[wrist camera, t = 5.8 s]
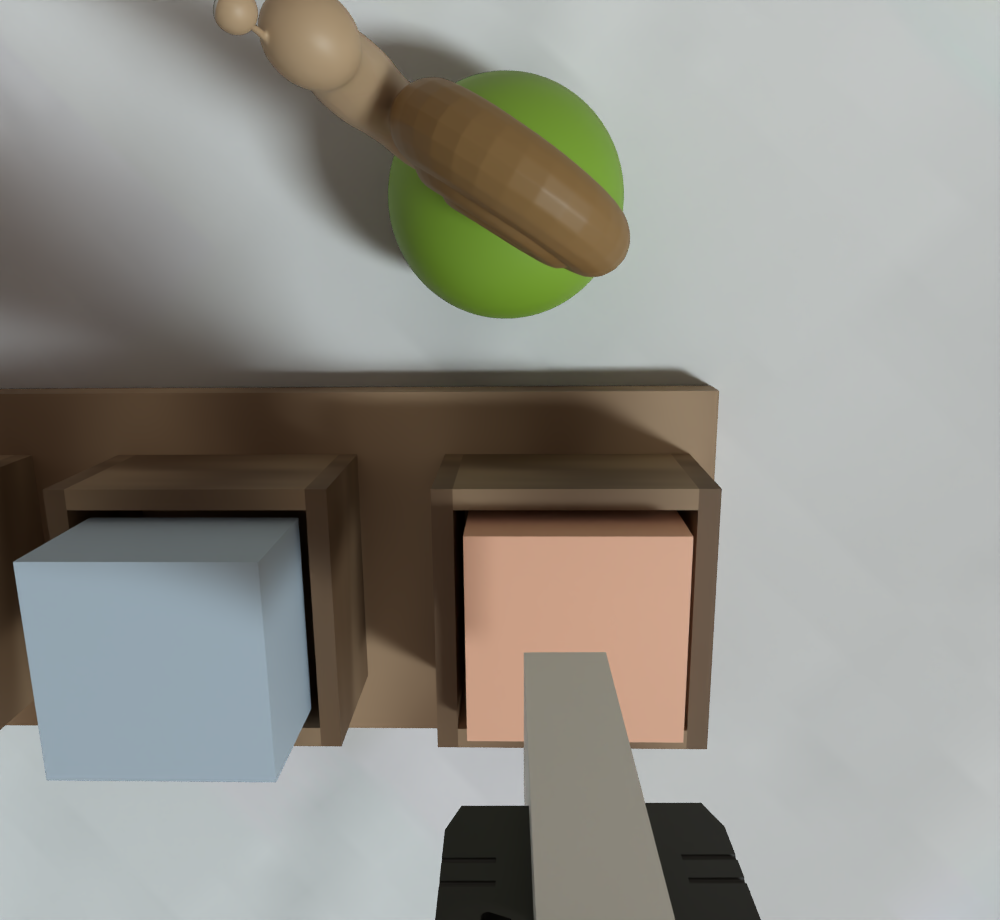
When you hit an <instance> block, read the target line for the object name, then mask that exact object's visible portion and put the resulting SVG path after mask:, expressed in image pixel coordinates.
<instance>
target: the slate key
mask: <svg viewBox="0 0 1000 920" xmlns="http://www.w3.org/2000/svg"><path fill="white" fill-rule="evenodd" d="M13 566H14V572H15V579H16V585H17V592H18V598H19V605H20V611H21V618H22V624H23V631H24V637H25V643H26V650H27V656H28V663H29V669H30V676H31V682H32V689H33V695H34V702H35V708H36V714H37V721H38V727H39V734H40V740H41V747H42V753H43V760H44V766H45V773H46V779H47V780H77V781H190V782H276V781H277V779H278V777H279V775H280V773H281V771H282V769H283V767H284V765H285V763H286V760H287V758H288V756H289V754H290V752H291V750H292V748H293V746H294V744H295V742H296V740H297V737H298V735H299V733H300V731H301V729H302V727H303V725H304V723H305V721H306V719H307V717H308V714H309V712H310V710H311V695H310V680H309V666H308V651H307V636H306V622H305V607H304V592H303V578H302V563H301V548H300V534H299V519H298V518H88V519H87V520H85V521H83V522H81V523H80V524H78V525H76V526H74V527H73V528H71V529H69V530H67V531H66V532H64V533H62V534H60V535H59V536H57V537H55V538H53V539H52V540H50V541H48V542H47V543H45V544H43V545H41V546H40V547H38V548H36V549H34V550H33V551H31V552H29V553H27V554H26V555H24V556H22V557H20V558H19V559H17V560H15V561H14V562H13Z"/></svg>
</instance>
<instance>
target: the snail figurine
mask: <svg viewBox="0 0 1000 920" xmlns="http://www.w3.org/2000/svg"><path fill="white" fill-rule="evenodd" d="M213 15H214V18H215V20H216V23H217V24H218V26H219V27H220V28H221V29H223V30H224V31H225V32H227V33H229V34H232V35H243V34H246V33H248V32H250V31H251V30H252V31H253V32H254V33H256V34H257V35H258V36H259V37H260V42H261V45H262V48H263V50H264V53H265V55H266V56H267V58H268V60H269V61H270V63H271V64H272V65H273V67H274V68H275V69H276V70H277V71H278V72H279V73H280V74H281V75H282V76H283V77H284V78H286V79H287V80H288V81H290V82H292V83H293V84H295V85H297V86H299V87H302V88H304V89H308V90H311V91H312V93H313V94H314V95H315V96H316V97H317V98H318V99H319V101H320V102H321V103H322V104H324V105H325V106H326V107H327V108H328V109H329V110H330V111H331V112H332V113H334V114H335V115H336V116H338V117H339V118H340V119H342V120H343V121H344V122H346V123H347V124H349V125H351V126H352V127H354V128H356V129H358V130H360V131H362V132H363V133H365V134H366V135H368V136H370V137H371V138H373V139H374V140H376V141H377V142H379V143H380V144H382V145H383V146H384V147H385V148H387V149H388V150H389V151H390V152H391V153H392V154H394V157H393V161H392V165H391V169H390V175H389V183H388V207H389V215H390V220H391V225H392V229H393V232H394V235H395V238H396V241H397V244H398V246H399V248H400V250H401V252H402V254H403V256H404V258H405V260H406V261H407V263H408V265H409V266H410V268H411V269H412V270H413V272H414V273H415V274H416V276H417V277H418V278H419V279H420V280H421V281H422V282H423V283H424V284H425V285H426V286H427V287H428V288H429V289H430V290H431V291H432V292H433V293H435V294H436V295H437V296H439V297H440V298H441V299H443V300H445V301H446V302H448V303H450V304H451V305H453V306H455V307H457V308H459V309H462V310H464V311H467V312H470V313H473V314H476V315H480V316H485V317H491V318H520V317H526V316H531V315H535V314H539V313H542V312H545V311H547V310H550V309H552V308H554V307H556V306H558V305H560V304H562V303H564V302H565V301H567V300H568V299H570V298H571V297H573V296H574V295H575V294H577V293H578V292H579V291H580V290H581V289H583V288H584V287H585V286H586V285H587V284H588V283H589V282H590V281H591V279H592V278H593V277H599V276H602V275H605V274H607V273H609V272H611V271H613V270H614V269H615V268H616V267H617V266H618V265H619V264H620V263H621V262H622V261H623V260H624V258H625V256H626V254H627V251H628V248H629V244H630V231H629V226H628V223H627V220H626V217H625V215H624V213H623V202H624V186H623V176H622V170H621V165H620V161H619V158H618V154H617V151H616V149H615V146H614V144H613V141H612V139H611V137H610V135H609V133H608V131H607V130H606V128H605V126H604V125H603V123H602V122H601V120H600V119H599V118H598V116H597V115H596V114H595V113H594V111H593V110H592V109H591V108H590V107H589V106H588V105H587V104H586V103H585V102H584V101H583V100H582V99H581V98H580V97H578V96H577V95H576V94H574V93H573V92H572V91H570V90H569V89H567V88H566V87H564V86H562V85H561V84H559V83H557V82H555V81H553V80H550V79H548V78H545V77H542V76H539V75H536V74H532V73H527V72H521V71H506V70H505V71H491V72H485V73H480V74H476V75H473V76H470V77H467V78H464V79H462V80H460V81H458V82H456V83H454V82H452V81H449V80H446V79H443V78H439V77H426V78H421V79H418V80H416V81H414V82H412V83H410V82H409V81H408V80H407V79H406V78H405V77H404V76H403V75H402V74H401V73H400V72H399V70H398V69H397V68H396V66H395V65H394V64H393V62H392V61H391V60H390V59H389V58H388V57H387V55H386V54H385V53H384V52H383V51H382V50H381V49H380V48H379V47H377V46H376V45H375V44H374V43H373V42H372V41H371V40H369V39H368V38H367V37H366V36H364V35H363V34H362V33H360V32H359V31H358V29H357V26H356V24H355V22H354V20H353V18H352V17H351V15H350V13H349V12H348V11H347V9H346V8H345V7H344V6H343V5H342V4H341V3H340V2H339V1H338V0H266V1H265V2H264V4H263V5H262V8H261V10H260V13H259V18H258V9H257V5H256V2H255V0H215V1H214V5H213ZM257 18H258V26H256V25H255V24H256V22H257Z"/></svg>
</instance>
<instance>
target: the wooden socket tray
mask: <svg viewBox="0 0 1000 920" xmlns="http://www.w3.org/2000/svg"><path fill="white" fill-rule="evenodd" d="M718 400H719V391H718V390H717V389H715V388H714V387H712V386H497V387H271V388H45V389H0V730H1V729H2V728H3V727H4V726H5V725H38V721H37V714H36V708H35V702H34V695H33V689H32V682H31V676H30V669H29V663H28V656H27V650H26V643H25V637H24V631H23V624H22V618H21V611H20V605H19V598H18V592H17V585H16V579H15V572H14V566H13V562H14V561H15V560H17V559H19V558H20V557H22V556H24V555H26V554H27V553H29V552H31V551H33V550H34V549H36V548H38V547H40V546H41V545H43V544H45V543H47V542H48V541H50V540H52V539H53V538H55V537H57V536H59V535H60V534H62V533H64V532H66V531H67V530H69V529H71V528H73V527H74V526H76V525H78V524H80V523H81V522H83V521H85V520H87V519H88V518H298V519H299V534H300V548H301V563H302V578H303V592H304V607H305V622H306V636H307V651H308V666H309V680H310V695H311V710H310V712H309V714H308V717H307V719H306V721H305V723H304V725H303V727H302V729H301V731H300V733H299V735H298V737H297V740H296V742H295V744H294V746H342V743H343V741H344V738H345V735H346V733H347V730H348V728H437V730H438V747H503V748H524V741H467V709H466V658H465V607H464V555H463V535H464V530H465V526H466V521H467V516H468V512H469V510H677V512H678V513H679V515H680V517H681V518H682V520H683V521H684V523H685V524H686V526H687V527H688V529H689V531H690V532H691V534H692V535H693V555H692V576H691V596H690V617H689V637H688V657H687V678H686V698H685V718H684V739H683V743H662V742H629V743H630V747H631V748H633V749H707V738H708V720H709V703H710V685H711V667H712V650H713V632H714V614H715V597H716V579H717V562H718V544H719V526H720V509H721V491H722V489H721V488H720V487H719V486H718V484H717V483H716V482H715V481H714V474H715V456H716V437H717V419H718Z"/></svg>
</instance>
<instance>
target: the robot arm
mask: <svg viewBox="0 0 1000 920" xmlns="http://www.w3.org/2000/svg"><path fill="white" fill-rule="evenodd" d="M524 799H525V806H461V808H460V809H459V811H458V812H457V813H456V815H455V816H454V818H453V819H452V821H451V822H450V823H449V825H448V826H447V828H446V829H445V835H444V844H443V853H442V863H441V872H440V884H439V890H438V900H437V909H436V918H435V920H761V919H760V917H759V914H758V911H757V909H756V906H755V904H754V901H753V899H752V896H751V894H750V891H749V888H748V886H747V883H745V881H744V876H743V873H742V870H741V868H740V865H739V863H738V860H736V858H735V853H734V850H733V847H732V845H731V842H730V840H729V837H728V835H727V832H726V829H725V827H724V826H723V825H722V824H721V823H720V822H719V821H718V820H717V819H716V818H715V817H714V816H713V815H712V814H711V813H710V812H709V811H708V810H707V808H706V807H705V806H704V805H703V804H702V803H645V801H644V797H643V794H642V790H641V786H640V782H639V778H638V774H637V770H636V767H635V763H634V759H633V755H632V751H631V747H630V743H629V740H628V736H627V732H626V728H625V724H624V720H623V716H622V712H621V709H620V705H619V701H618V697H617V693H616V689H615V685H614V682H613V678H612V674H611V670H610V666H609V662H608V658H607V655H606V652H524Z"/></svg>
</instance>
